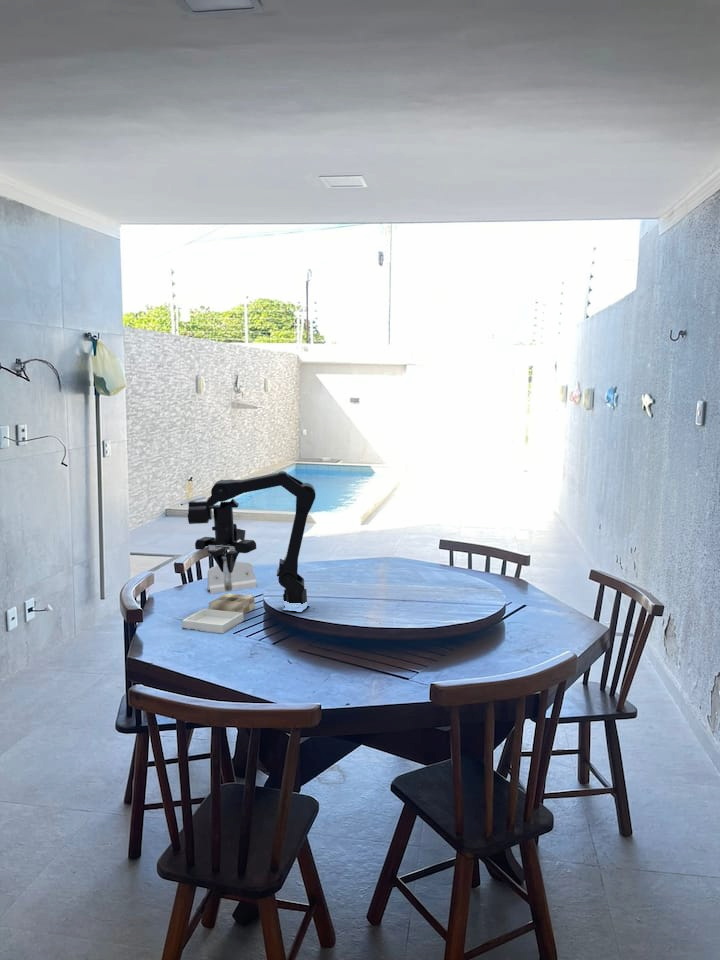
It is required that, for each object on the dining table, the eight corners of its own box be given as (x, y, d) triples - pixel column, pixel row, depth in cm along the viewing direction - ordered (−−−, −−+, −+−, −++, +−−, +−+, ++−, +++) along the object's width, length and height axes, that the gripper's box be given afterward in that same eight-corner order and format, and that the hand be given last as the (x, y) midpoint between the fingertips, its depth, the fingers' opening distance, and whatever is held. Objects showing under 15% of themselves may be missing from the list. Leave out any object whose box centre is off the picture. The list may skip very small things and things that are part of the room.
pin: (235, 588, 236) (233, 554, 234) (229, 591, 233) (227, 557, 231) (226, 587, 237) (224, 553, 235) (221, 590, 234) (218, 556, 232)
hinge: (209, 594, 257) (205, 564, 258) (207, 595, 261) (203, 565, 263) (258, 586, 263) (254, 558, 264) (255, 588, 267) (251, 559, 269)
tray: (243, 621, 228) (243, 613, 228) (223, 633, 218) (222, 625, 218) (204, 616, 234) (203, 608, 233) (182, 628, 224) (181, 620, 224)
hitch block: (255, 608, 240) (254, 595, 239) (237, 618, 231) (236, 605, 230) (227, 605, 244) (227, 593, 243) (209, 615, 235) (208, 602, 234)
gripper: (264, 518, 235) (267, 567, 237) (213, 515, 243) (216, 563, 245) (244, 526, 225) (247, 577, 227) (192, 522, 232) (195, 572, 235)
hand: (227, 572), depth 234 cm, fingers closed on pin, 2 cm apart
